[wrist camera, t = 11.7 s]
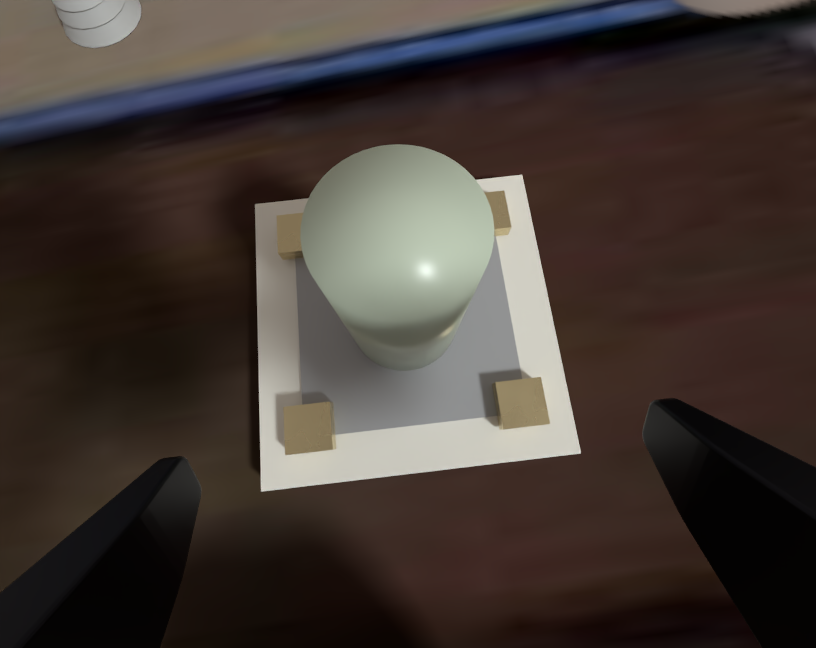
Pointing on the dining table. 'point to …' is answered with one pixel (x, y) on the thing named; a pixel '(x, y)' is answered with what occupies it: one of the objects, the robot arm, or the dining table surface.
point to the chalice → (98, 20)
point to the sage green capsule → (398, 249)
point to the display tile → (407, 390)
